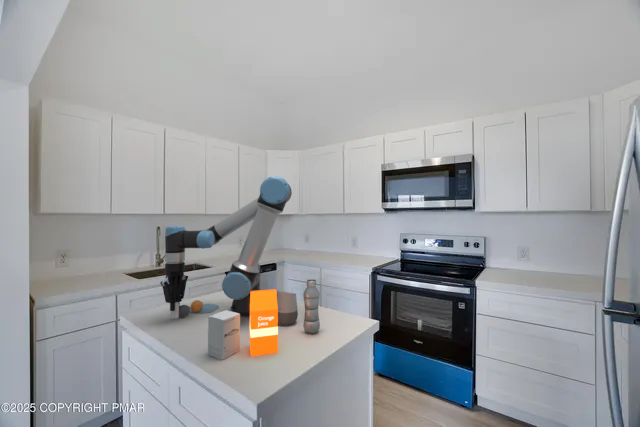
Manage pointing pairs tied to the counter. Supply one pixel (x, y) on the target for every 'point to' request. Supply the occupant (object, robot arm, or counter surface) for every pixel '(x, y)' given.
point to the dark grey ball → (184, 311)
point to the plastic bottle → (311, 307)
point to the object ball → (196, 306)
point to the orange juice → (263, 322)
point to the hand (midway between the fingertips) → (174, 317)
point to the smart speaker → (287, 308)
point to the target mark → (207, 308)
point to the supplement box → (223, 334)
